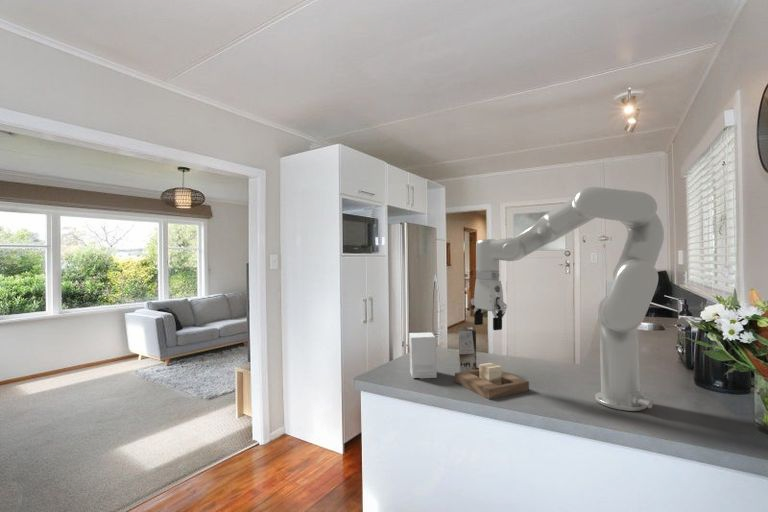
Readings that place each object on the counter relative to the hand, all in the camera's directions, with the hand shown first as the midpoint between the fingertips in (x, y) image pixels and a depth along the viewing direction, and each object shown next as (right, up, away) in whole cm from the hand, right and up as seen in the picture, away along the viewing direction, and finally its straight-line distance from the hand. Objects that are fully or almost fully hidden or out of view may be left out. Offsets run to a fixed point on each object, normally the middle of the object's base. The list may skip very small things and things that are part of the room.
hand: (487, 327), depth 125 cm
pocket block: (+1, -20, 0) cm, 20 cm away
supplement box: (-20, -20, +13) cm, 32 cm away
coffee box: (-3, -20, +18) cm, 27 cm away
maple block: (+1, -20, 0) cm, 20 cm away
